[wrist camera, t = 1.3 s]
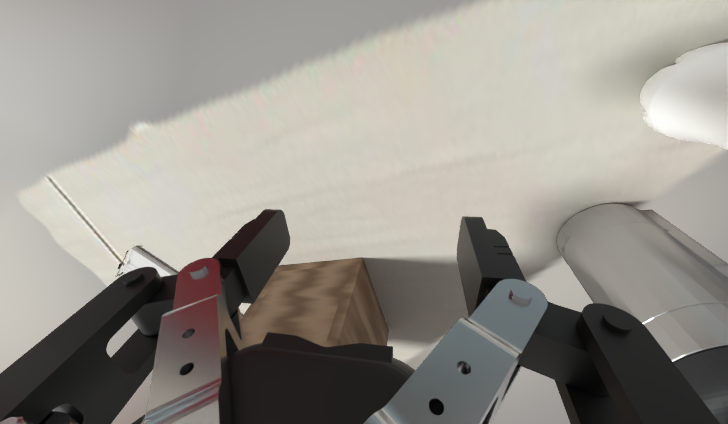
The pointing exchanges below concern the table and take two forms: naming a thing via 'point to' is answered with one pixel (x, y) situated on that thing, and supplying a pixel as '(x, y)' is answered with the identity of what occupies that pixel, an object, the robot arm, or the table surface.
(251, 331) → the rack
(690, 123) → the water bottle
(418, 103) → the table surface
